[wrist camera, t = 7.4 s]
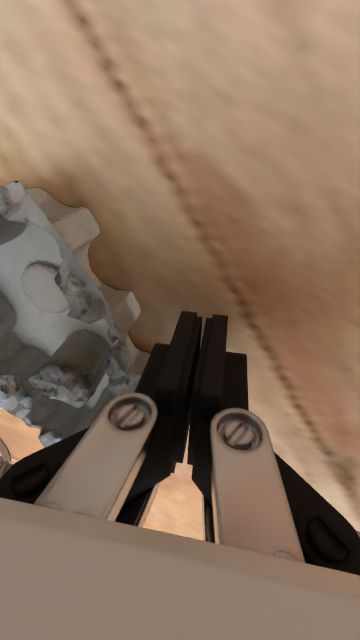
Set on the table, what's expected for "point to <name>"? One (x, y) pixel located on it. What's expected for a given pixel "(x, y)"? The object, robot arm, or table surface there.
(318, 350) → the table surface
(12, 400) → the egg carton
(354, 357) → the table surface
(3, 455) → the tin can
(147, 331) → the table surface
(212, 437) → the robot arm
